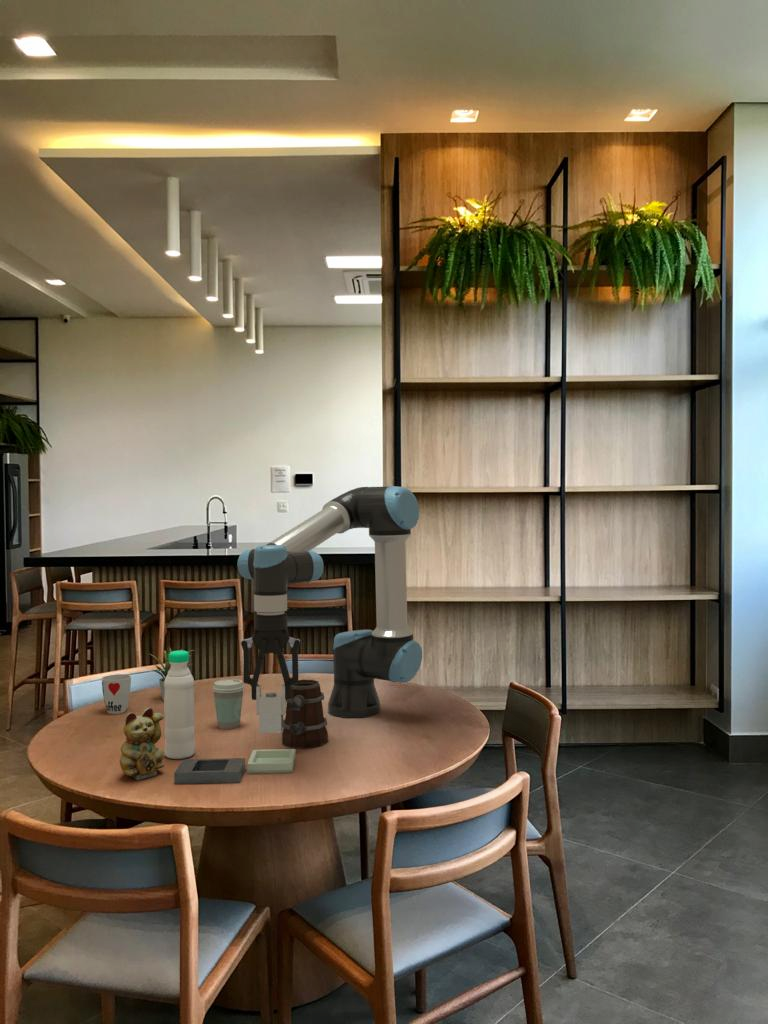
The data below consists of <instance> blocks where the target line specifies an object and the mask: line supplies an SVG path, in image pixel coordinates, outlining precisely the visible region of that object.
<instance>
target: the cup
mask: <svg viewBox="0 0 768 1024" xmlns="http://www.w3.org/2000/svg"><path fill="white" fill-rule="evenodd" d="M131 684H132V675H130V674H123V673H122V674H121V673H120V674H119V673H118V674H109V675H105V676H103V677H101V686H102V687H101V688H102V689H101V690H102V695H103V696H102V697H103V702H104V705H105V709H106V712H107V713H108V714H113V715H117V714H124V713H125V712H126V711H127V708H128V705H129V702H130V695H131V688H132V687H131Z"/></svg>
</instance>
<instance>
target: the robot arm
mask: <svg viewBox="0 0 768 1024" xmlns="http://www.w3.org/2000/svg"><path fill="white" fill-rule="evenodd" d="M419 518H420V508H419V503H418V500H417V498H416V496H415V495H414V494H413V492H412V491H411V490H410V489H409V488H407V487H404V486H397V485H396V486H395V485H391V486H360V487H356V488H354V489H350V490H348V491H346V492H344V493H341V494H340V495H338V496H336V497H335V498H332V499H331V500H329V501H328V502H326V503H325V504H324V505H323V506H322V509H321V510H320V511H318V512H317V513H316V514H314V515H312V516H311V517H308V518H307V519H305V520H304V521H302V522H300V523H299V524H298V525H296V526H294V527H293V528H291V529H289V530H288V531H286V532H284V533H282V534H281V535H280V536H278V537H276V538H274V539H273V540H271V541H269V542H268V543H266V544H265V545H264V544H262V545H257V546H256V547H255V548H251V549H245V550H243V551H242V552H241V553H240V555H239V556H238V559H237V570H238V572H239V575H240V576H241V577H243V578H244V579H247V580H253V584H254V585H253V588H254V590H253V611H254V612H255V614H254V615H253V621H254V622H253V623H254V627H253V628H254V629H253V630H254V631H253V635H252V636H251V637H249V638H244V639H242V640H241V642H240V645H241V648H242V650H243V666H242V667H243V674H242V675H243V677H242V678H243V680H242V682H243V684H247V685H250V687H251V700H252V701H256V705H255V706H256V710H255V711H256V716H259V697H260V695H261V693H262V684H260V683H259V679H260V675H261V671H262V666H263V663H264V659H265V656H266V654H274V655H275V654H276V658H277V660H278V664H279V668H280V671H281V676H282V678H283V679H282V680H283V682H284V683H282V684H281V692H282V715H283V716H286V705H287V702H286V699H290V696H291V684H293V683H297V681H298V680H299V646H300V643H301V639H300V638H294V637H292V636H290V634H289V632H288V614H287V613H286V612H287V611H288V585H293V584H296V585H297V584H302V583H306V584H309V583H310V582H311V583H312V582H315V581H317V580H319V579H320V578H321V577H322V576H323V575H322V574H323V573H324V560H323V557H322V556H321V555H320V554H319V553H318V552H317V551H313V550H314V549H315V548H317V547H318V546H320V545H321V544H322V543H324V542H325V541H327V540H328V539H330V538H332V537H333V536H335V535H336V534H341V535H342V534H344V533H346V532H347V531H350V530H352V529H353V530H354V529H368V536H369V537H370V538H371V540H372V541H373V542H374V569H375V572H374V573H375V577H374V578H375V605H376V606H375V607H376V608H375V612H376V613H375V614H376V617H375V618H376V627H375V628H374V630H372V629H357V630H350V631H348V630H347V631H344V632H339V633H337V634H336V635H335V636H334V637H333V647H332V650H333V651H332V652H333V655H332V656H333V686H332V689H331V694H330V697H329V699H328V703H327V712H328V713H329V714H330V715H331V716H332V715H333V716H336V717H340V718H366V717H370V716H375V715H377V714H379V713H380V712H381V701H380V698H379V694H378V692H377V688H376V685H375V680H382V681H388V682H391V683H407V682H410V681H411V680H413V679H414V678H415V677H416V676H417V674H418V672H419V670H420V669H421V666H422V665H421V664H422V660H423V650H422V646H421V644H420V643H419V642H418V641H416V640H414V631H413V630H412V629H411V628H410V627H409V626H408V600H407V599H408V598H407V597H408V596H407V592H408V591H407V589H408V588H407V560H406V559H407V553H406V552H407V551H406V550H407V549H406V548H407V547H406V546H407V545H406V542H407V539H409V537H411V534H412V533H411V532H412V531H411V530H412V529H413V528H414V527H416V526H417V524H418V520H419ZM253 643H254V645H255V646H256V647H257V649H258V650H259V652H258V654H257V655H258V656H257V661H256V663H255V668H254V672H253V676H252V677H251V648H252V646H253ZM288 643H289V647H290V648H291V664H292V665H291V674H292V677H290V673H289V669H288V666H287V661H286V657H285V653H284V648H285V646H286V645H287V644H288Z"/></svg>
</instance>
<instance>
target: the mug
mask: <svg viewBox="0 0 768 1024" xmlns="http://www.w3.org/2000/svg"><path fill="white" fill-rule="evenodd" d="M323 700H325V694H324V692H322V690H321V685H320V682H319V681H318V680H316V679H315V680H314V679H305V678H304V679H303V678H302V679H298V681H297V683H293V684H291V696H290V699H286V713H285V719H284V718H283V729H282V732H281V743H282V745H284V746H286V747H289V748H290V749H309V748H311V749H312V748H315V747H316V748H317V747H320V746H322V745H324V744H327V743H328V742H329V733H328V730H327V727H326V726H327V725H328V718H327V717H325V716H324V708H323Z"/></svg>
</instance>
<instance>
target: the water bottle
mask: <svg viewBox="0 0 768 1024" xmlns="http://www.w3.org/2000/svg"><path fill="white" fill-rule="evenodd" d="M168 654H169V663H170V664H171V667H170V669H169V671H168V674H167V676H166V678H165V677H164V678H165V681H164V687H165V695H164V701H163V705H164V706H163V708H164V709H163V710H164V711H163V712H164V713H163V714H164V715H163V716H164V724H165V727H164V740H165V742H164V757H166V758H168V759H172V760H183V759H189V758H190V757H192V756H193V755H194V754H195V752H196V743H195V734H196V733H195V691H194V685H195V680H194V676H193V675H192V673H191V670H190V668H189V666H188V667H187V665H188V663H189V662H190V652H188V650H187V651H186V650H182V651H180V650H172V652H170V651H169V652H168Z"/></svg>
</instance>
